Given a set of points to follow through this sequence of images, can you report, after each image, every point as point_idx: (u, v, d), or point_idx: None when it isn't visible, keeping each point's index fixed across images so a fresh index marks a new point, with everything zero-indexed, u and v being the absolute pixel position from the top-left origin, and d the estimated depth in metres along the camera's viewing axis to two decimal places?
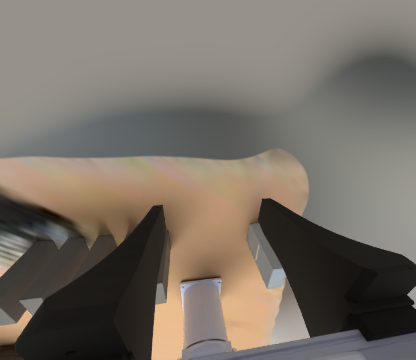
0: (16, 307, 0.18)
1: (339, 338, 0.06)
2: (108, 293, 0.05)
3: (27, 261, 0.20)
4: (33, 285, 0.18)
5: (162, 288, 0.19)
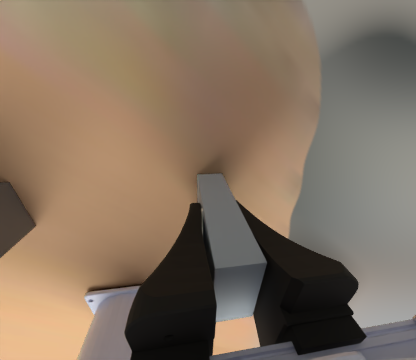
0: None
1: None
2: (197, 282, 0.05)
3: None
4: None
5: None
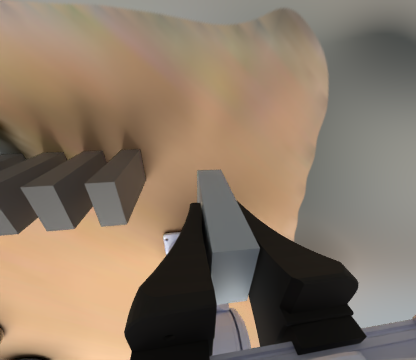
0: None
1: None
2: (197, 282, 0.05)
3: None
4: None
5: (116, 193, 0.12)
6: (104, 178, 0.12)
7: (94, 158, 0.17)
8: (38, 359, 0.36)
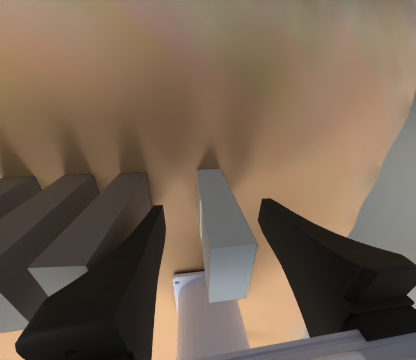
0: None
1: (339, 338, 0.06)
2: (108, 293, 0.05)
3: None
4: None
5: None
6: (71, 253, 0.06)
7: (78, 189, 0.11)
8: None
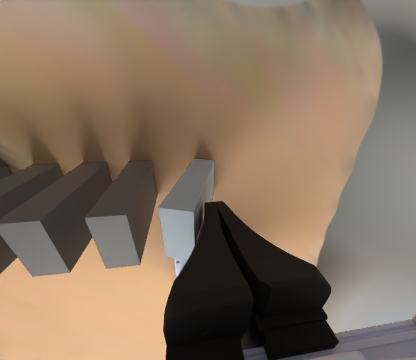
0: None
1: (339, 338, 0.06)
2: (229, 278, 0.05)
3: None
4: None
5: (127, 229, 0.09)
6: (112, 209, 0.09)
7: (96, 173, 0.13)
8: None
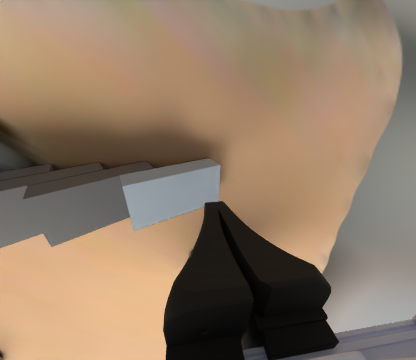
0: None
1: (339, 338, 0.06)
2: (229, 278, 0.05)
3: None
4: None
5: (30, 212, 0.10)
6: (37, 190, 0.11)
7: None
8: None
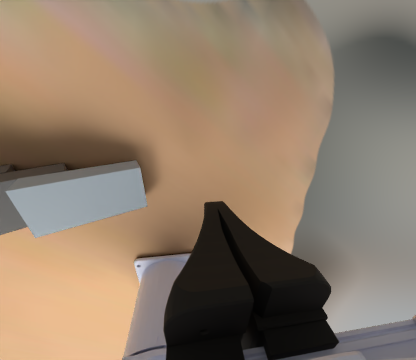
0: None
1: (339, 338, 0.06)
2: (229, 278, 0.05)
3: None
4: None
5: None
6: None
7: None
8: None
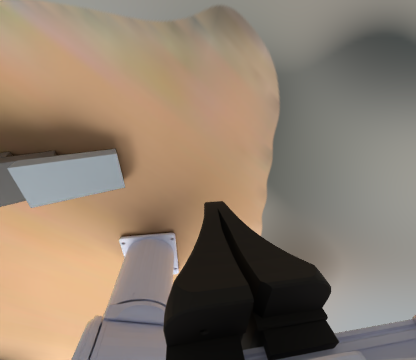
0: None
1: (339, 338, 0.06)
2: (229, 278, 0.05)
3: None
4: None
5: None
6: None
7: None
8: None
